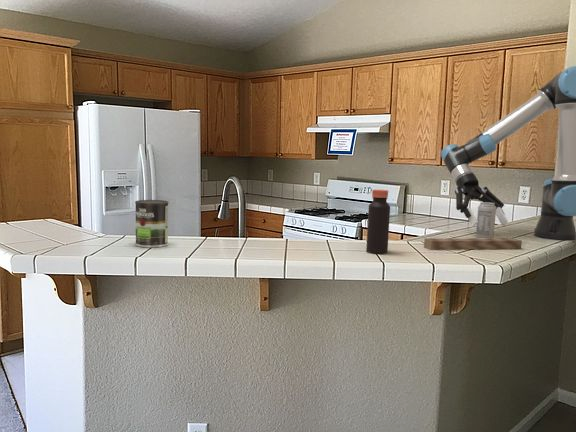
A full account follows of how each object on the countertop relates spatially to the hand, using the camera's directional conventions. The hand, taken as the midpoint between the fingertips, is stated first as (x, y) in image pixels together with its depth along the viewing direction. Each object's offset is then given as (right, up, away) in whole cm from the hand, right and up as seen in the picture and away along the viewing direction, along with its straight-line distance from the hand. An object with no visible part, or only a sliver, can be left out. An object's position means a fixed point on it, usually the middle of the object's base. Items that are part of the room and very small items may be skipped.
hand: (490, 223), depth 184 cm
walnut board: (-8, -8, -6) cm, 13 cm away
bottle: (-44, -9, -18) cm, 48 cm away
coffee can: (-116, -7, -18) cm, 118 cm away
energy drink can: (-1, -7, +3) cm, 8 cm away
